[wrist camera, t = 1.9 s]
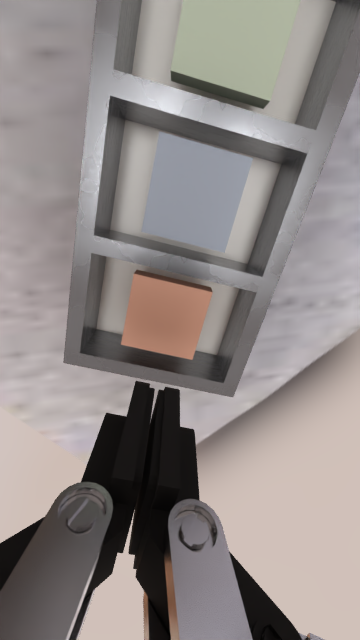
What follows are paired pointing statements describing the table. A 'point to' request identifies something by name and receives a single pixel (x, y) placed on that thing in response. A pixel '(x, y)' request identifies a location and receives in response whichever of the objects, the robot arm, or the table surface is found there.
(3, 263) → the table surface
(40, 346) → the table surface
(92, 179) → the frame
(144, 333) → the key terracotta
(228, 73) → the key sage
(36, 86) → the table surface
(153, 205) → the key slate
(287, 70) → the base
